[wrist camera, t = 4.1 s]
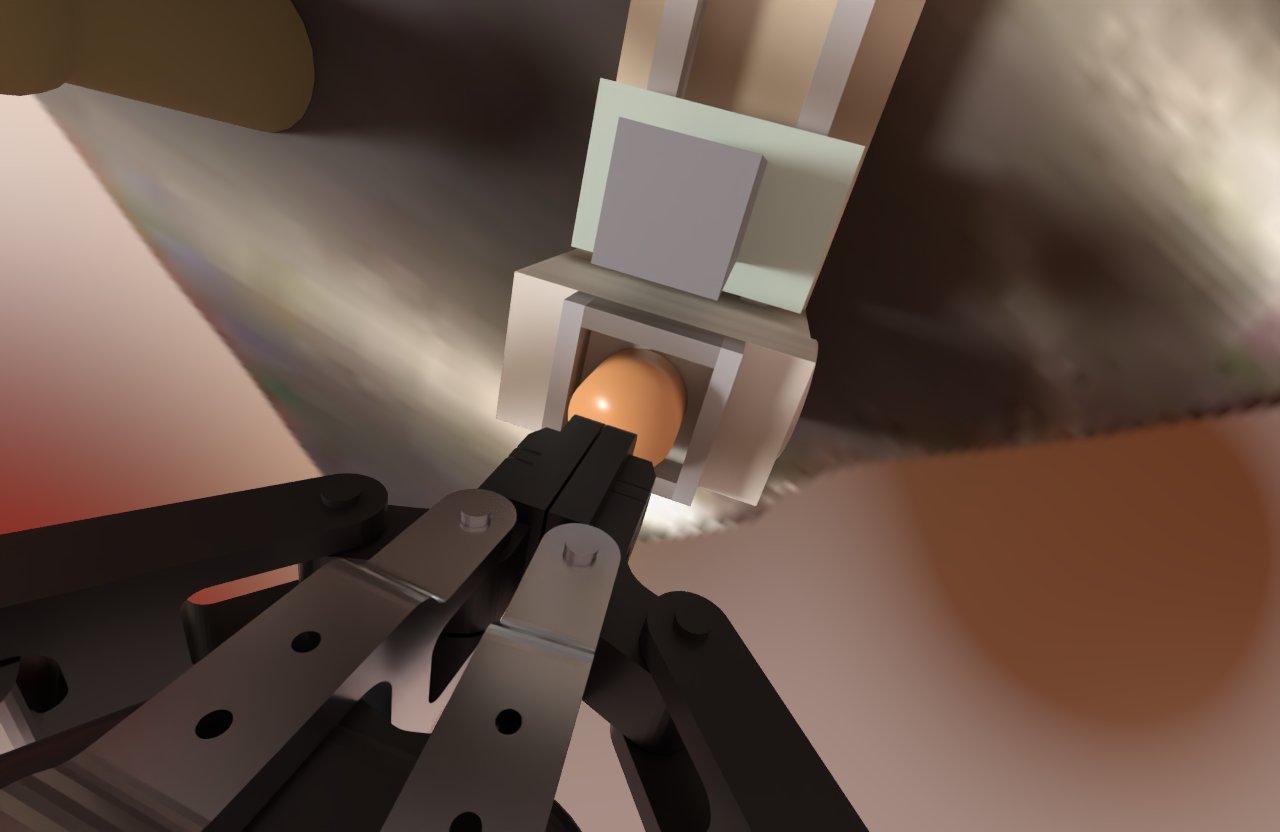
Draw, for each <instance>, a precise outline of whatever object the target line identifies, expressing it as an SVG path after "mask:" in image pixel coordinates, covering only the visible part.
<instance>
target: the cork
mask: <svg viewBox="0 0 1280 832" xmlns="http://www.w3.org/2000/svg"><path fill="white" fill-rule="evenodd" d="M314 79H315V71H314V61H313V51H312V47H311V44H310V41H309V38H308V35H307V32H306V29H305V26H304V23H303V21H302V19H301V18H300V16H299V14H298V12H297V11H296V9H295V7H294V5H293V4H292V2H291V0H0V94H6V95H17V96H22V95H30V94H37V93H43V92H46V91H49V90H52V89H55V88H58V87H60V86H61V85H62V84H64V83H68V84H72V85H77V86H81V87H85V88H89V89H93V90H97V91H101V92H105V93H109V94H113V95H117V96H121V97H125V98H129V99H133V100H137V101H141V102H145V103H149V104H153V105H157V106H162V107H166V108H170V109H174V110H178V111H182V112H186V113H190V114H194V115H198V116H202V117H206V118H210V119H214V120H218V121H222V122H226V123H230V124H234V125H238V126H242V127H247V128H251V129H255V130H260V131H265V132H271V133H274V132H278V131H282V130H286V129H289V128H291V127H292V126H293V125H294V124H295V123H296V122H298V121H299V120H300V119H301V118H302V117H303V115H304V113H305V111H306V109H307V107H308V105H309V103H310V101H311V99H312V93H313V86H314Z"/></svg>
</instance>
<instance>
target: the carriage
mask: <svg viewBox="0 0 1280 832" xmlns="http://www.w3.org/2000/svg"><path fill="white" fill-rule="evenodd" d="M864 148H865V146H862V145H858V144H854V143H850V142H846V141H843V140H839V139H835V138H831V137H827V136H823V135H819V134H816V133H812V132H808V131H804V130H800V129H796V128H792V127H789V126H785V125H781V124H777V123H773V122H769V121H765V120H761V119H758V118H754V117H750V116H746V115H742V114H738V113H734V112H731V111H727V110H723V109H719V108H715V107H711V106H707V105H704V104H700V103H696V102H692V101H688V100H684V99H680V98H676V97H673V96H669V95H665V94H661V93H657V92H653V91H649V90H646V89H642V88H638V87H634V86H630V85H626V84H622V83H619V82H615V81H611V80H607V79H603V78H600V84H599V89H598V95H597V101H596V107H595V112H594V118H593V124H592V130H591V135H590V141H589V147H588V153H587V158H586V164H585V170H584V176H583V181H582V187H581V193H580V199H579V204H578V210H577V216H576V222H575V228H574V233H573V239H572V245H571V246H573V247H576V248H580V249H583V250H586V251H590V252H593V255H592V260H591V263H592V264H595V265H599V266H602V267H605V268H609V269H612V270H615V271H619V272H622V273H626V274H629V275H632V276H636V277H639V278H642V279H646V280H649V281H652V282H656V283H659V284H662V285H666V286H669V287H673V288H676V289H679V290H683V291H686V292H689V293H693V294H696V295H699V296H703V297H706V298H709V299H713V300H716V301H717V300H718V298H719V296H720V294H721V292H722V291H725V292H728V293H732V294H735V295H738V296H742V297H745V298H749V299H752V300H755V301H759V302H762V303H766V304H769V305H772V306H776V307H779V308H782V309H786V310H789V311H793V312H796V313H799V314H801V311H802V309H803V306H804V304H805V301H806V298H807V296H808V293H809V291H810V288H811V285H812V283H813V280H814V278H815V275H816V273H817V270H818V267H819V265H820V262H821V260H822V257H823V254H824V252H825V249H826V247H827V244H828V242H829V239H830V236H831V234H832V231H833V229H834V226H835V223H836V221H837V218H838V216H839V213H840V210H841V208H842V205H843V203H844V200H845V198H846V195H847V192H848V190H849V187H850V185H851V182H852V179H853V177H854V174H855V172H856V169H857V167H858V164H859V161H860V159H861V156H862V154H863V151H864Z"/></svg>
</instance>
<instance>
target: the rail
mask: <svg viewBox="0 0 1280 832" xmlns="http://www.w3.org/2000/svg"><path fill="white" fill-rule="evenodd" d="M925 2H926V0H631V4H630V10H629V15H628V20H627V26H626V31H625V36H624V42H623V47H622V53H621V58H620V63H619V69H618V74H617V80H616V82H619V83H622V84H626V85H630V86H634V87H638V88H642V89H646V90H649V91H653V92H657V93H661V94H665V95H669V96H673V97H676V98H680V99H684V100H688V101H692V102H696V103H700V104H704V105H707V106H711V107H715V108H719V109H723V110H727V111H731V112H734V113H738V114H742V115H746V116H750V117H754V118H758V119H761V120H765V121H769V122H773V123H777V124H781V125H785V126H789V127H792V128H796V129H800V130H804V131H808V132H812V133H816V134H819V135H823V136H827V137H831V138H835V139H839V140H843V141H846V142H850V143H854V144H858V145H862V146H865V148H864V151H863V154H862V156H861V159H860V161H859V164H858V167H857V169H856V172H855V174H854V177H853V179H852V182H851V185H850V187H849V190H848V192H847V195H846V198H845V200H844V203H843V205H842V208H841V210H840V213H839V216H838V218H837V221H836V223H835V226H834V229H833V231H832V234H831V236H830V239H829V242H828V244H827V247H826V249H825V252H824V254H823V257H822V260H821V262H820V265H819V267H818V270H817V273H816V275H815V278H814V280H813V283H812V285H811V288H810V291H809V293H808V296H807V298H806V301H805V304H804V306H803V309H802V311H801V314H799V313H796V312H793V311H789V310H786V309H782V308H779V307H776V306H772V305H769V304H766V303H762V302H759V301H755V300H752V299H749V298H745V297H742V296H738V295H735V294H732V293H728V292H725V291H722V292H721V294H720V296H719V298H718V300H717V301H716V300H713V299H709V298H706V297H703V296H699V295H696V294H693V293H689V292H686V291H683V290H679V289H676V288H673V287H669V286H666V285H662V284H659V283H656V282H652V281H649V280H646V279H642V278H639V277H636V276H632V275H629V274H626V273H622V272H619V271H615V270H612V269H609V268H605V267H602V266H599V265H595V264H592V263H591V260H592V255H593V252H590V251H586V250H583V249H580V248H577V249H575V250H572V251H569V252H566V253H564V254H561V255H558V256H556V257H553V258H550V259H547V260H545V261H542V262H539V263H536V264H534V265H531V266H528V267H526V268H523V269H520V270H517V271H515V275H514V282H513V290H512V298H511V306H510V313H509V321H508V329H507V337H506V344H505V352H504V360H503V367H502V375H501V383H500V391H499V398H498V406H497V414H496V419H499V420H502V421H505V422H508V423H511V424H514V425H517V426H520V427H523V428H526V429H529V430H532V431H538V430H540V429H543V428H545V427H548V428H551V429H554V430H557V431H561V430H562V429H563V427H564V426H565V425H566V424H567V423H568V408H569V404H570V401H571V398H572V396H573V394H574V392H575V391H576V389H577V388H578V387H579V386H580V385H581V384H582V383H583V382H584V380H585V379H586V378H587V377H588V376H589V375H590V374H591V373H592V372H593V371H594V370H595V369H596V368H597V367H598V366H599V365H600V364H601V362H602V361H603V360H605V359H606V358H607V357H608V356H610V355H612V354H613V353H616V352H618V351H621V350H625V349H645V350H649V351H652V352H654V353H657V354H659V355H661V356H663V357H664V358H665V359H667V360H668V361H669V362H670V363H672V364H673V365H674V366H675V368H676V369H677V370H678V371H679V373H680V374H681V376H682V378H683V380H684V382H685V385H686V389H687V394H688V403H687V409H686V413H685V416H684V418H683V421H682V423H681V426H680V429H679V431H678V434H677V436H676V439H675V441H674V444H673V446H672V449H671V450H670V452H669V454H668V455H667V456H666V457H665V459H664V460H662V461H661V462H660V463H659V464H658V465H656V466H655V467H654V471H655V474H656V479H655V482H654V486H653V489H652V492H651V493H653V494H656V495H659V496H662V497H665V498H668V499H671V500H673V501H676V502H679V503H682V504H685V505H688V506H691V503H692V500H693V497H694V494H695V492H696V489H697V486H698V487H701V488H704V489H707V490H710V491H713V492H716V493H719V494H722V495H725V496H728V497H731V498H734V499H737V500H740V501H743V502H745V503H748V504H751V505H754V506H756V505H757V503H758V500H759V498H760V496H761V493H762V491H763V488H764V486H765V484H766V481H767V479H768V476H769V474H770V472H771V469H772V467H773V465H774V462H775V460H776V458H778V457H779V456H780V455H781V453H782V452H783V450H784V449H785V447H786V445H787V443H788V441H789V439H790V437H791V435H792V433H793V431H794V428H795V426H796V424H797V421H798V419H799V416H800V414H801V411H802V409H803V406H804V403H805V400H806V397H807V394H808V391H809V388H810V384H811V381H812V377H813V373H814V369H815V365H816V360H817V353H818V342H817V340H815V339H812V338H811V336H810V331H809V326H808V321H807V316H806V311H805V309H806V307H807V304H808V302H809V299H810V297H811V294H812V292H813V289H814V286H815V284H816V281H817V279H818V276H819V274H820V271H821V268H822V266H823V263H824V261H825V258H826V256H827V253H828V250H829V248H830V245H831V243H832V240H833V238H834V235H835V233H836V230H837V227H838V225H839V222H840V220H841V217H842V215H843V212H844V209H845V207H846V204H847V202H848V199H849V197H850V194H851V191H852V189H853V186H854V184H855V181H856V179H857V176H858V173H859V171H860V168H861V166H862V163H863V161H864V158H865V156H866V153H867V150H868V148H869V145H870V143H871V140H872V138H873V135H874V132H875V130H876V127H877V125H878V122H879V120H880V117H881V114H882V112H883V109H884V107H885V104H886V102H887V99H888V97H889V94H890V91H891V89H892V86H893V84H894V81H895V79H896V76H897V73H898V71H899V68H900V66H901V63H902V61H903V58H904V55H905V53H906V50H907V48H908V45H909V43H910V40H911V38H912V35H913V32H914V30H915V27H916V25H917V22H918V20H919V17H920V14H921V12H922V9H923V7H924V4H925Z"/></svg>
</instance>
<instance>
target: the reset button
mask: <svg viewBox="0 0 1280 832" xmlns="http://www.w3.org/2000/svg"><path fill="white" fill-rule="evenodd" d="M687 403H688V394H687V389H686V385H685V382H684V380H683V378H682V376H681V374H680V373H679V371H678V370H677V369H676V368H675V366H674V365H673V364H672V363H670V362H669V361H668V360H667V359H665V358H664V357H663V356H661V355H659V354H657V353H654V352H652V351H649V350H645V349H625V350H621V351H618V352H616V353H613V354H612V355H610V356H608V357H607V358H606V359H605V360H603V361H602V362H601V364H600V365H599V366H598V367H597V368H596V369H595V370H594V371H593V372H592V373H591V374H590V375H589V376H588V377H587V378H586V379H585V380H584V382H583V383H582V384H581V385H580V386H579V387H578V388H577V389H576V391H575V392H574V394H573V396H572V398H571V401H570V404H569V408H568V421H569V420H570V419H571V418H572V417H573V415H575V414H576V415H580V416H583V417H586V418H589V419H592V420H595V421H598V422H601V423H604V424H605V425H610V426H614V427H617V428H620V429H623V430H626V431H629V432H632V433H635V434H637V441H636V445H635V449H634V453H633V456H636V457H639V458H642V459H645V460H648V461H651V462H652V464H653V467H655V466H656V465H658V464H659V463H660V462H661V461H662V460H664V459H665V457H666V456H667V455H668V454H669V452H670V450H671V449H672V446H673V444H674V441H675V439H676V436H677V434H678V431H679V429H680V426H681V423H682V421H683V418H684V416H685V413H686V409H687Z"/></svg>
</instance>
